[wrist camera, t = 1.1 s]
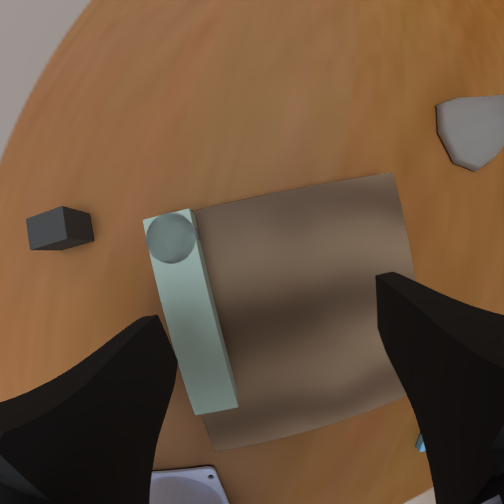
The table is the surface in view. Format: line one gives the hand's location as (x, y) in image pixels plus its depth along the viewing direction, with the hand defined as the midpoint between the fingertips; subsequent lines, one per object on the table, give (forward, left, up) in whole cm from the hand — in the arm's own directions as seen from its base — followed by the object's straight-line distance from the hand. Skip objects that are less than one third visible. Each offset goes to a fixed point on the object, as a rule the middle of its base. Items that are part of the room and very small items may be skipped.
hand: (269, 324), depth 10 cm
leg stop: (+6, +11, -12) cm, 17 cm away
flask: (+8, -22, -12) cm, 26 cm away
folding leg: (0, +3, -9) cm, 9 cm away
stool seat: (-3, -3, -12) cm, 12 cm away
